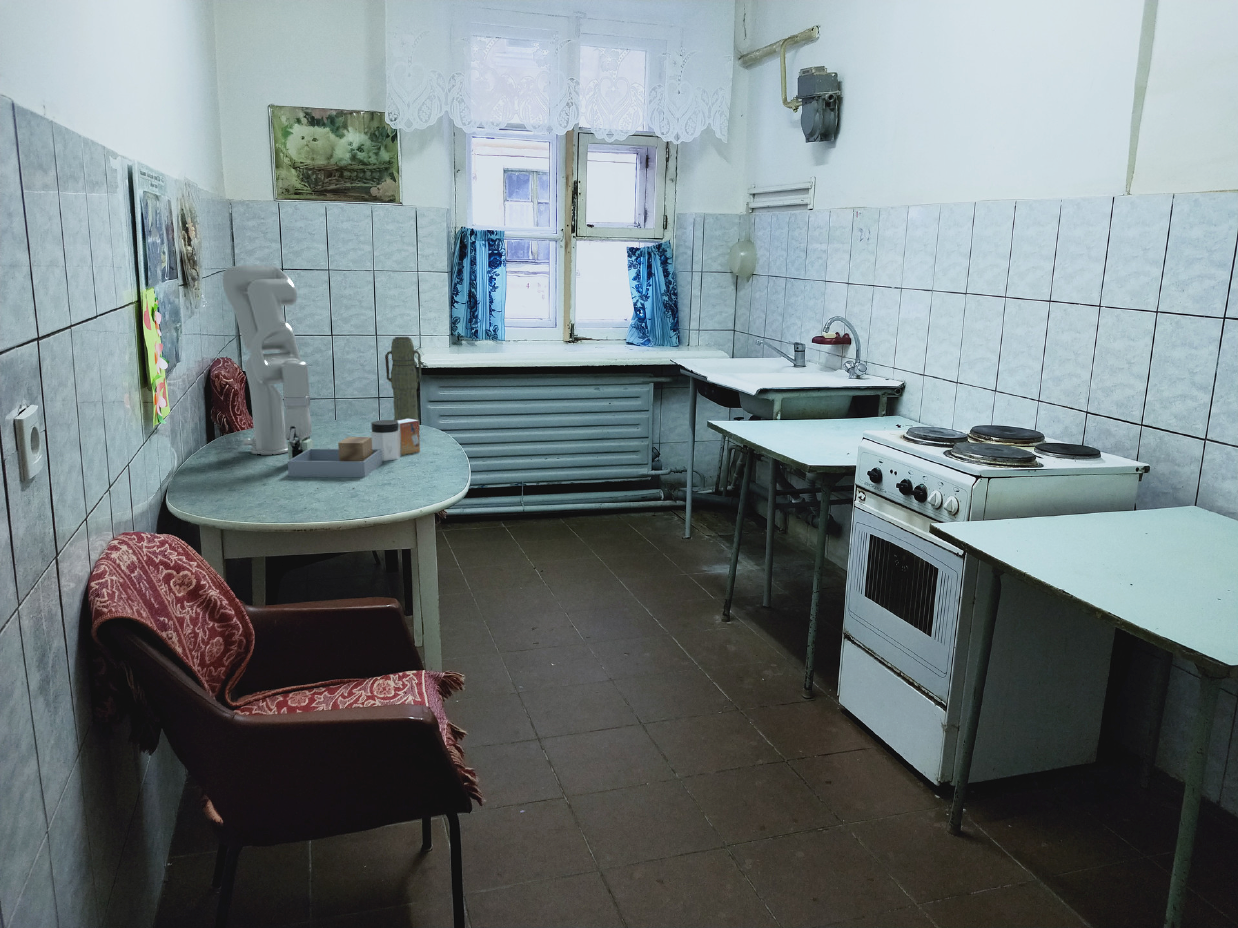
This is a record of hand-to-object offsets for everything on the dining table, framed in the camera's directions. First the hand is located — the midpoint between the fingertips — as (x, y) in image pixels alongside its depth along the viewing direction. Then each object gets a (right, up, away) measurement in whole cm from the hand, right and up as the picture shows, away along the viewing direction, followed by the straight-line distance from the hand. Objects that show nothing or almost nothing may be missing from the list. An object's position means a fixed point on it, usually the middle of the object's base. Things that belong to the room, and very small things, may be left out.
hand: (301, 459), depth 279 cm
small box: (+28, +2, +15) cm, 32 cm away
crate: (+15, -4, -12) cm, 19 cm away
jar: (+25, 0, +4) cm, 26 cm away
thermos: (+23, +8, +40) cm, 46 cm away
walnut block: (+21, -3, -12) cm, 24 cm away
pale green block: (0, -1, 0) cm, 1 cm away
